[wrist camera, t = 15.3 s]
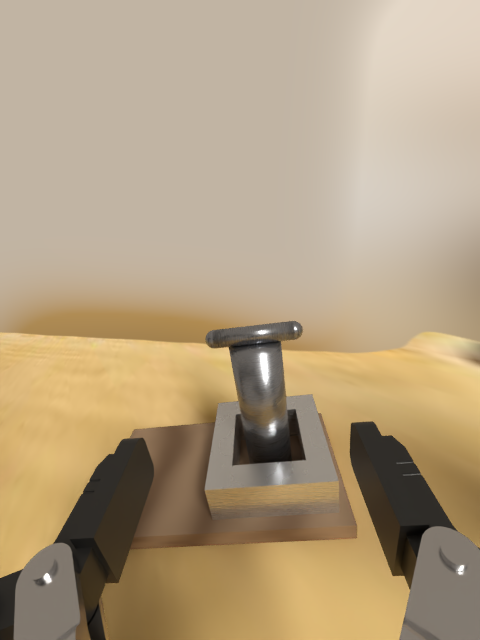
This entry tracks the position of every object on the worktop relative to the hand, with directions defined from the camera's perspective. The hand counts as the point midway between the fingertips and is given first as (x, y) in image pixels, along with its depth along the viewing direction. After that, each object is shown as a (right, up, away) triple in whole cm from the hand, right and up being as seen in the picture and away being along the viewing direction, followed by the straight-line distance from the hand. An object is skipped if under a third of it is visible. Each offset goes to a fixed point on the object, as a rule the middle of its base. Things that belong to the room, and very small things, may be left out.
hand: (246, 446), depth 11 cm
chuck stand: (-2, -11, +17) cm, 20 cm away
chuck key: (+3, -9, +16) cm, 18 cm away
